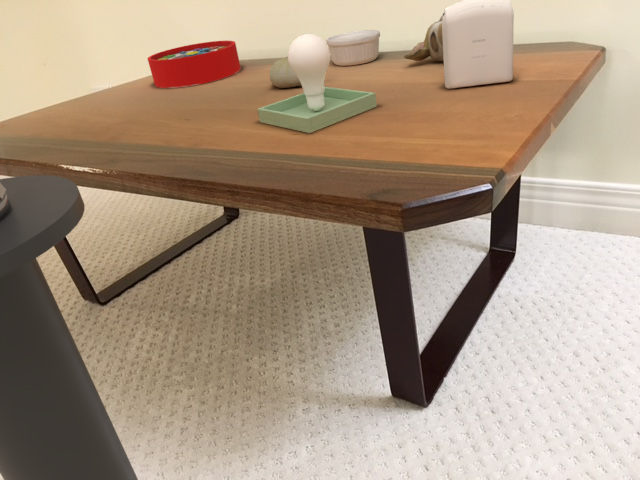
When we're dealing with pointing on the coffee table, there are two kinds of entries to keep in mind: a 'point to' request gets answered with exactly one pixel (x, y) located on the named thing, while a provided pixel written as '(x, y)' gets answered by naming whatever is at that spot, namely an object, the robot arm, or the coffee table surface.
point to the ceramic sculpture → (429, 44)
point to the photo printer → (478, 43)
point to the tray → (307, 120)
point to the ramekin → (354, 47)
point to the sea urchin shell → (283, 74)
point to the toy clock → (194, 64)
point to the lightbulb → (310, 67)
